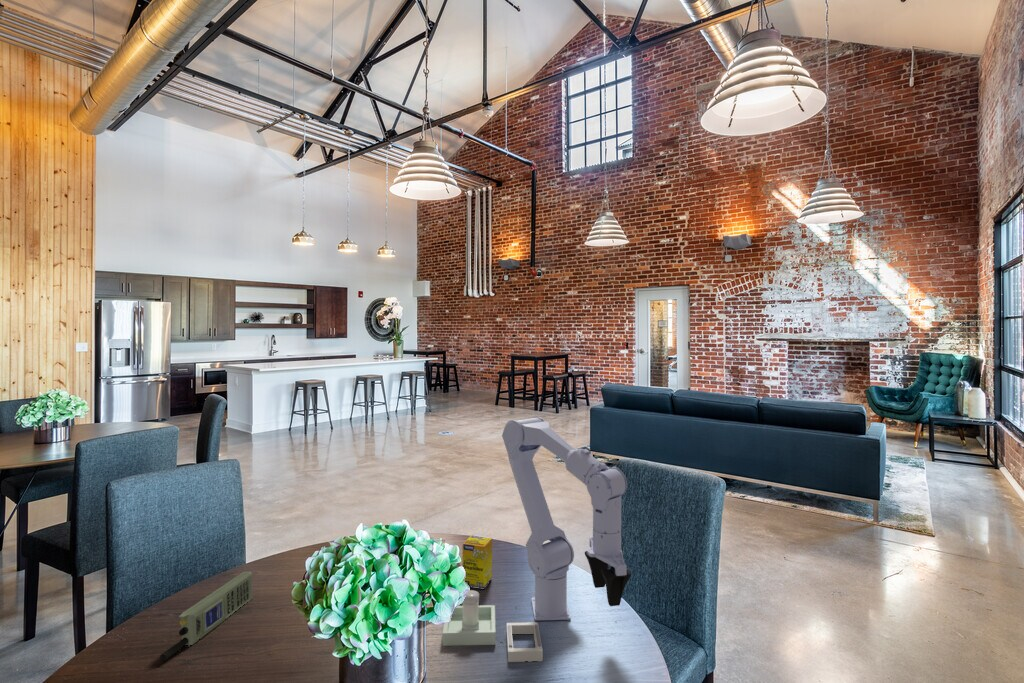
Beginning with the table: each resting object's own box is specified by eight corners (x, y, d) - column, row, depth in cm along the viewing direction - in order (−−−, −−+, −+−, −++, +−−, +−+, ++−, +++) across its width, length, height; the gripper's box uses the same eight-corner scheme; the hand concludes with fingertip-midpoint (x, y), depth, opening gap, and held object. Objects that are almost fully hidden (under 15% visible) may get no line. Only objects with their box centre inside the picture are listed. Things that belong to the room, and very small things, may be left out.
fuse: (462, 622, 109) (462, 590, 109) (479, 622, 109) (479, 590, 109) (461, 632, 106) (461, 598, 106) (478, 632, 106) (478, 598, 106)
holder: (506, 632, 107) (506, 621, 107) (537, 631, 107) (537, 620, 107) (508, 662, 97) (508, 650, 97) (542, 661, 97) (542, 649, 97)
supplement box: (461, 587, 126) (462, 543, 127) (470, 576, 132) (470, 534, 132) (484, 590, 125) (484, 546, 125) (492, 580, 130) (492, 537, 131)
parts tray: (447, 617, 113) (447, 606, 113) (494, 616, 113) (494, 605, 113) (442, 645, 102) (442, 633, 102) (495, 644, 102) (495, 632, 102)
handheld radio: (255, 599, 120) (170, 665, 96) (242, 599, 121) (155, 664, 96) (254, 571, 120) (169, 629, 96) (241, 571, 121) (154, 629, 96)
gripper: (576, 518, 110) (576, 581, 110) (602, 544, 96) (601, 616, 96) (606, 516, 112) (606, 578, 112) (636, 541, 97) (636, 612, 97)
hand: (606, 595), depth 104 cm, fingers open, 7 cm apart
